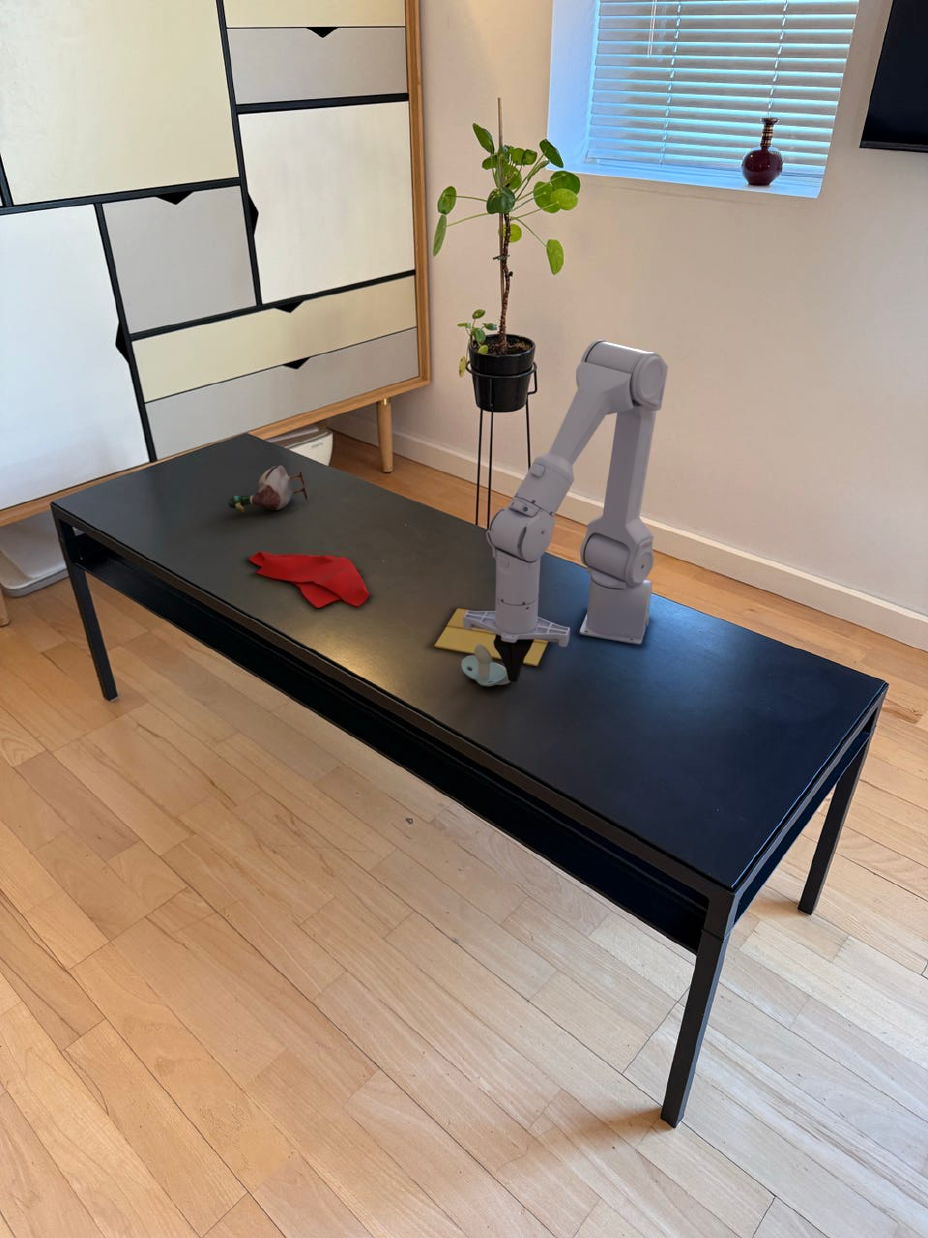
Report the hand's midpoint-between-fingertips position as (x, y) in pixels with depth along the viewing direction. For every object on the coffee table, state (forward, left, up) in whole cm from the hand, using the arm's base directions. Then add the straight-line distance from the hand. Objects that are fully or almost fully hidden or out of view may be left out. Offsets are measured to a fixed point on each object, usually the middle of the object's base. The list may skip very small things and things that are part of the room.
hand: (514, 677), depth 125 cm
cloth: (+41, -20, -2) cm, 45 cm away
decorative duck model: (+63, -43, -2) cm, 76 cm away
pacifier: (+4, -1, -2) cm, 4 cm away
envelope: (+6, -11, -1) cm, 13 cm away
